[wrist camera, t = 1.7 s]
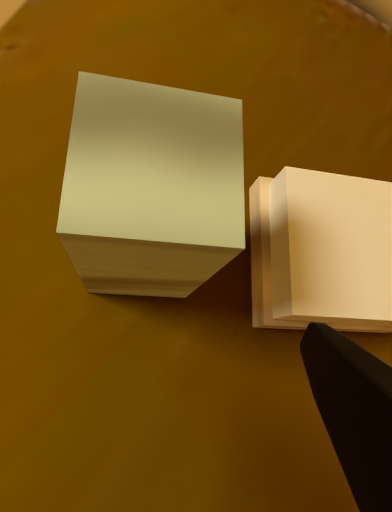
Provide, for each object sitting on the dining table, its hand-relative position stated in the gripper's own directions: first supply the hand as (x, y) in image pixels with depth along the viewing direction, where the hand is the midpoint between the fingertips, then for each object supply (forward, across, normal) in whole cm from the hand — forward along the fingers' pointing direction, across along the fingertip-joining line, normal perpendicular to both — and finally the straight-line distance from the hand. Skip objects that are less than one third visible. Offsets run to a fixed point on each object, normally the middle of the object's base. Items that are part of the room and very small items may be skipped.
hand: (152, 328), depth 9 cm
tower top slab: (+11, -13, +3) cm, 17 cm away
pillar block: (+13, 0, +4) cm, 13 cm away
